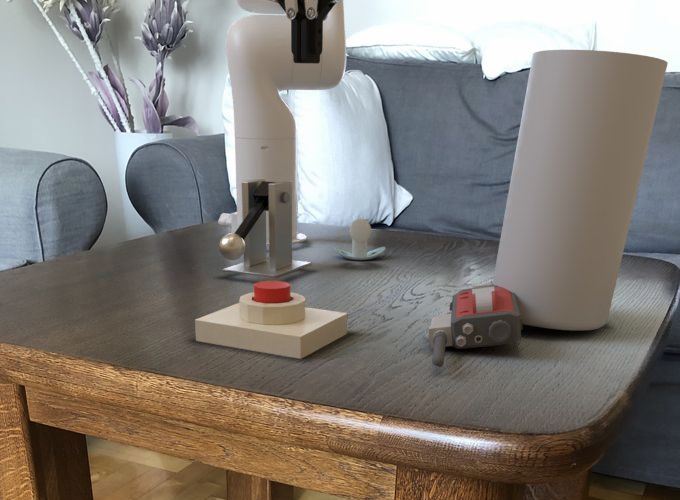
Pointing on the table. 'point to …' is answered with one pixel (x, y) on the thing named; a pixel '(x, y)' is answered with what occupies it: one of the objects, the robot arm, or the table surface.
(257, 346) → the button housing
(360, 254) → the pacifier
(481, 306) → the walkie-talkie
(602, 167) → the cylinder vase
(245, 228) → the switch lever
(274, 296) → the button
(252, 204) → the switch bracket
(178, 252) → the table surface
